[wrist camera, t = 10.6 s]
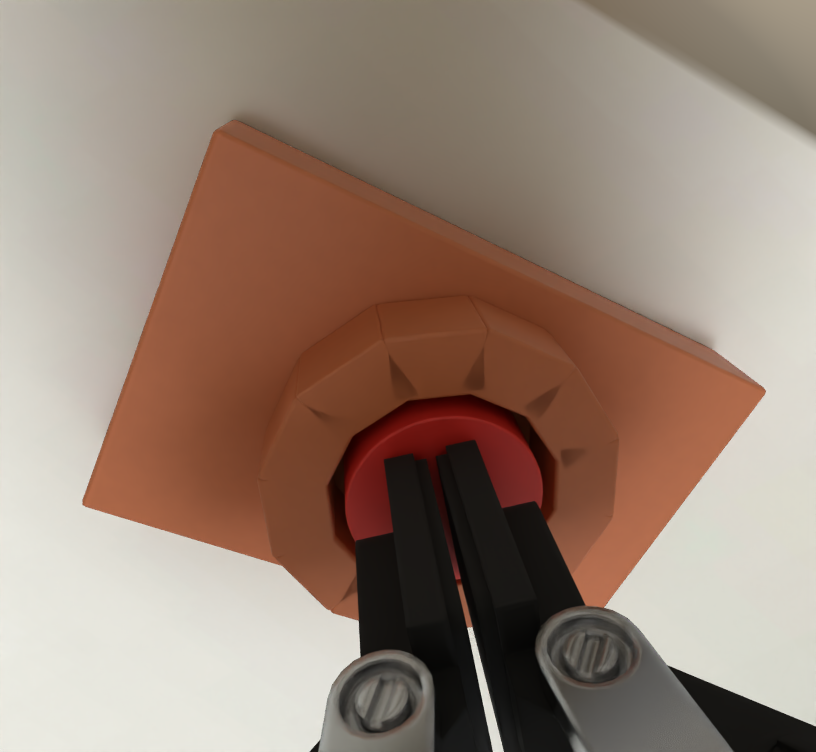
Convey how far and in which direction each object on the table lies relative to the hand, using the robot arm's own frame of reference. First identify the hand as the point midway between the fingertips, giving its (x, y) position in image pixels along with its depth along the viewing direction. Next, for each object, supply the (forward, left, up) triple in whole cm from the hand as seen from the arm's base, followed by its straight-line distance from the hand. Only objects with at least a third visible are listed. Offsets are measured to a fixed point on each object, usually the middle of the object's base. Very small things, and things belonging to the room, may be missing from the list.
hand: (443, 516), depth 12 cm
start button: (0, 0, -2) cm, 2 cm away
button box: (0, 0, -4) cm, 4 cm away
